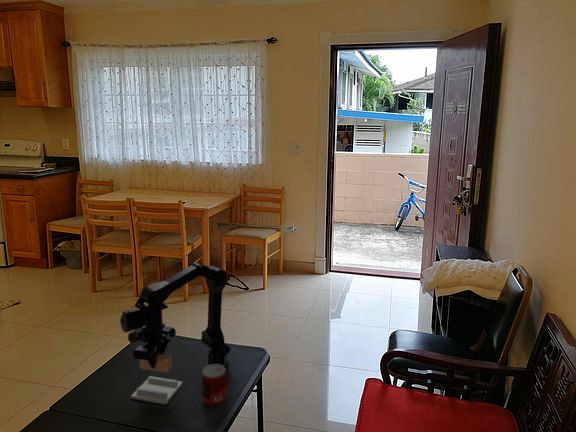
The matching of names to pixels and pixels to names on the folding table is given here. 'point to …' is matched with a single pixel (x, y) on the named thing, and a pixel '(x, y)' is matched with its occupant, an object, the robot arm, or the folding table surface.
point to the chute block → (158, 363)
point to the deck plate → (157, 390)
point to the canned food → (214, 384)
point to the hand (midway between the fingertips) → (156, 364)
